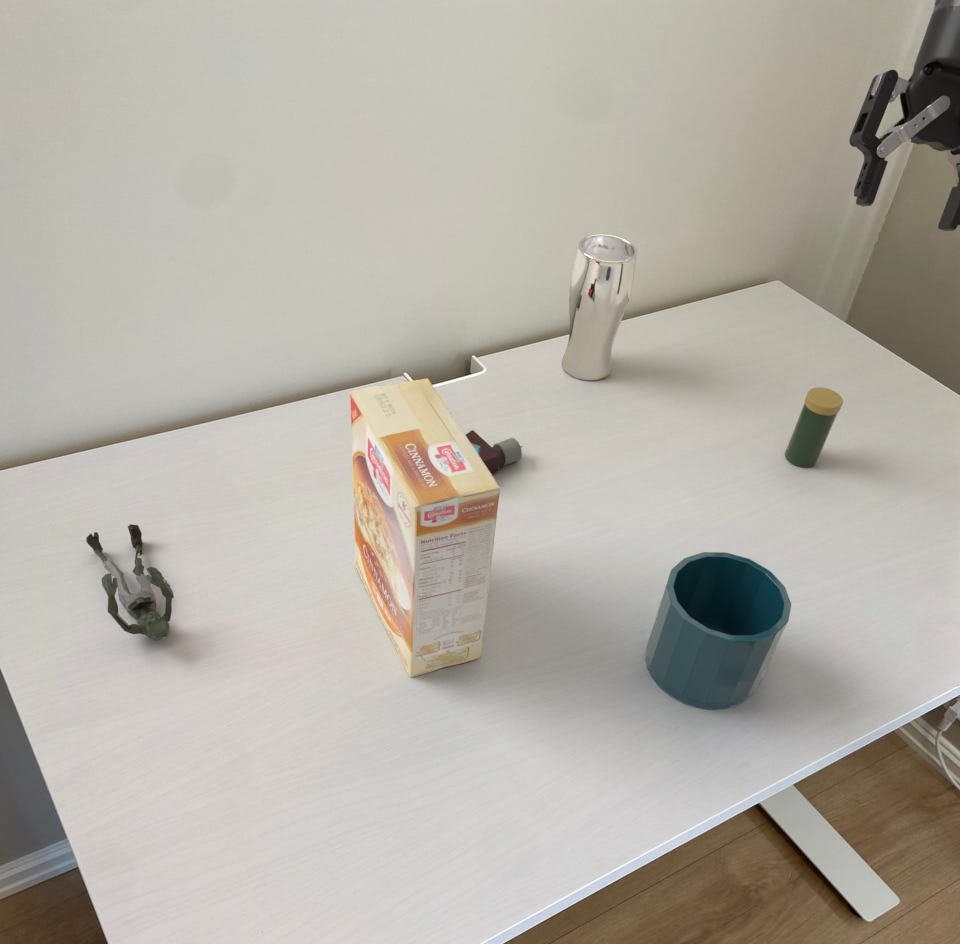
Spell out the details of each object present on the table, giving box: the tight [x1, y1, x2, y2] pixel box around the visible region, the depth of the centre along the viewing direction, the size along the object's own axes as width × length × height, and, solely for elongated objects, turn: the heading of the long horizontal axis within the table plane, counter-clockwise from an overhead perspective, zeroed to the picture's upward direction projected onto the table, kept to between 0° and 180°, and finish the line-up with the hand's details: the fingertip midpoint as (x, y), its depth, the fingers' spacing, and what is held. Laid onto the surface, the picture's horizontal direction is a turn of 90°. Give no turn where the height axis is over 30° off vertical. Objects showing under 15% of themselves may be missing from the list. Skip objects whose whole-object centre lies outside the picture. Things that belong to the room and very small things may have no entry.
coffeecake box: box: [349, 377, 501, 678], centre depth 81 cm, size 15×7×20 cm, turn 23°
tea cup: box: [645, 551, 792, 710], centre depth 83 cm, size 10×10×9 cm
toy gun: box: [465, 429, 524, 475], centre depth 102 cm, size 10×12×5 cm
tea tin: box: [784, 386, 844, 469], centre depth 105 cm, size 4×4×8 cm
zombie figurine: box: [85, 523, 175, 641], centre depth 84 cm, size 5×7×15 cm
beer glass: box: [561, 233, 638, 381], centre depth 111 cm, size 7×7×15 cm
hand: (905, 217), depth 88 cm, fingers open, 8 cm apart
